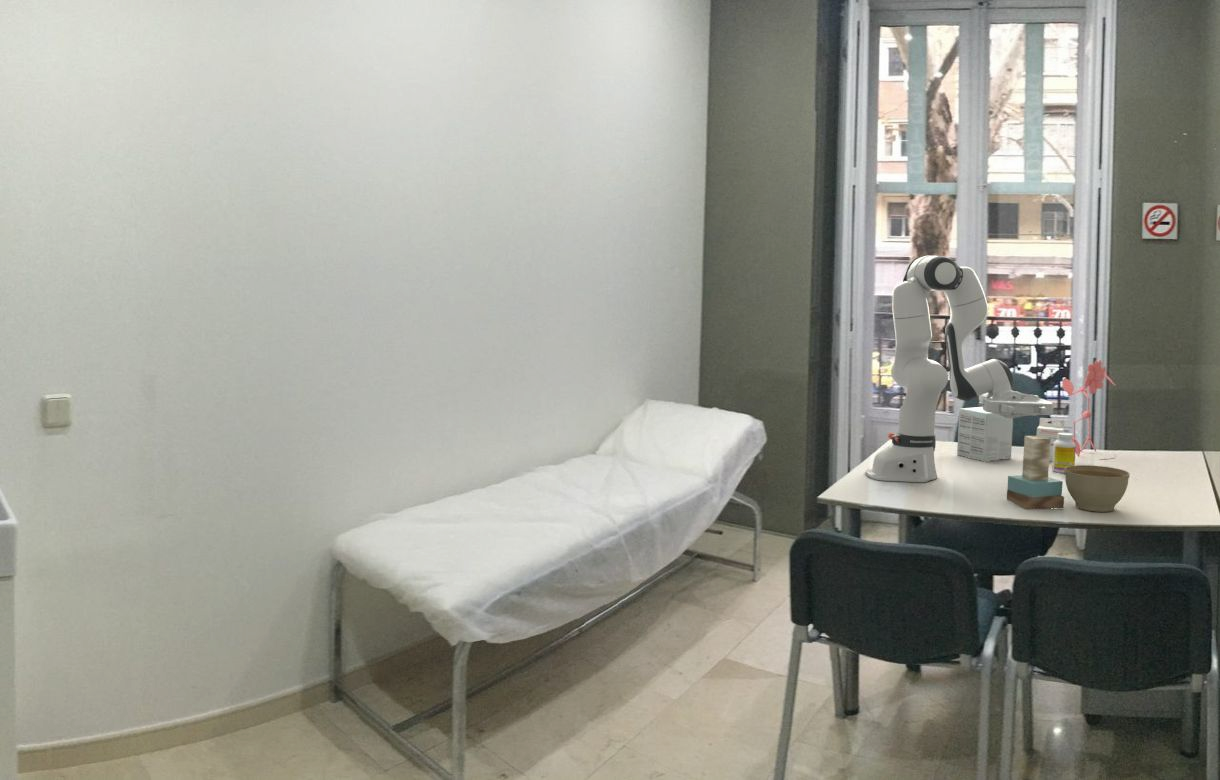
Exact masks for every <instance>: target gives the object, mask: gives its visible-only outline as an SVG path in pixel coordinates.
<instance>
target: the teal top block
mask: <svg viewBox="0 0 1220 780" xmlns="http://www.w3.org/2000/svg"><path fill="white" fill-rule="evenodd" d="M1063 483H1064V482H1063V481H1062V480H1059V479H1056V478H1053V477H1049V476H1048V481H1033V480H1028V479H1026V478H1024V477H1022V474H1020V475H1008V476H1007V487H1006V489H1007V490H1010V491H1013V492H1017V493H1020V494H1023V495H1026V496H1029V497H1032V498H1034V497H1046V496H1057V495H1061V496H1063ZM1007 490H1006V491H1007Z"/></svg>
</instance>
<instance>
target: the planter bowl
mask: <svg viewBox="0 0 1220 780" xmlns="http://www.w3.org/2000/svg"><path fill="white" fill-rule="evenodd" d="M1064 472H1065V473H1064V479H1065V485H1066V488H1067V491H1068V493H1069V495H1070V497H1071V498H1072V500H1073V501H1074V502H1075V507H1076V508H1078V509H1080V510H1084V511H1089V512H1097V513H1099V512H1101V513H1102V512H1103V513H1104V512H1105V513H1107V512H1108V513H1109V512H1113V511H1115V508H1116V505H1117V504H1118V503H1119V502H1120V501H1121V500H1122V498H1123V497H1124V496H1125V493H1126V490H1127V488H1128V484H1129V479H1130V476H1131V475H1130V472H1129V471H1127V470H1125V469H1120V468H1116V467H1111V466H1103V465H1102V466H1101V465H1092V464H1091V465H1089V464H1088V465H1087V464H1081V465H1080V464H1076V465H1074V466H1068V467H1066V468H1065V469H1064Z"/></svg>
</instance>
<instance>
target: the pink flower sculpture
mask: <svg viewBox="0 0 1220 780" xmlns="http://www.w3.org/2000/svg"><path fill="white" fill-rule="evenodd" d="M1102 364H1103V363H1102V360H1101V359H1100V360H1099V359H1098V360H1095V361H1094V363H1090V364H1088V366H1087V371H1088V373H1087V374H1086V379H1085V381H1084V384H1083V387H1082V388H1081V389H1079V390H1077V391H1075V392H1074V385H1073V382H1072V381H1071V380H1069V379H1068V378H1066V377H1064V378H1063V380H1062V381H1061V382H1062V383H1061V386H1062V387H1061V388H1062V389H1063V390H1064V391H1065V392H1066V393H1067V394H1068V395H1069V396H1073V395H1074V394H1078V393H1080V392H1082V393H1083V394H1084V395H1085V397H1086V398H1087V410H1085V411H1083V413H1082V416H1083V417H1081V418H1079V419H1077V420H1075V421H1074V422H1073V439H1072V441H1073V442H1074V443H1075V444H1076V448H1075V456H1077V457H1080V455H1081V452H1082V451H1083V450H1084V449H1085V447H1086V445H1087V444H1088V442H1089V444H1090V445H1091V447H1092V449H1093V451H1094V452H1095V453H1098V451H1097V450H1096V447H1095V446H1094V444H1093V442H1092V440H1091V417H1092V413H1091V411H1090V397H1089V396H1088V394H1090V395H1091V394H1094V395H1095V394H1097V392H1098V389H1099V390H1101V389H1103V388H1104V383H1103V381H1104V379H1105V378H1106V379H1107V381H1108V382H1110V383H1111V384H1112V385H1113V386H1114V387H1117V385H1116V384H1115V383H1114V382H1113V380H1112V378H1110V377H1109V376H1108V375H1107V374H1106V370H1107V369H1106V366H1103V365H1102ZM1086 388H1088V389H1086ZM1086 392H1089V393H1088V394H1087V393H1086ZM1083 419H1088V436H1086V441H1085V443H1084V444H1083V446H1082V447H1081V445H1080V443H1079V442H1078V440H1077V439H1076V423H1077V422H1079V421H1081V420H1083ZM1096 451H1097V452H1096ZM1113 455H1115V456H1116V454H1115V453H1113ZM1113 459H1114V457H1113V458H1110V460H1113ZM1101 460H1102V461H1103V460H1107V458H1104V459H1101V458H1099V461H1101Z"/></svg>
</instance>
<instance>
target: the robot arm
mask: <svg viewBox="0 0 1220 780" xmlns="http://www.w3.org/2000/svg"><path fill="white" fill-rule="evenodd" d="M932 291H938V292H939V291H940V292H941V291H942V292H943V293H944V294H945V297H946V299H947V302H948V307H949V309H950V311H949V312H950V314H949V315H950V317H949V321H948V323H947V324H946V325H945V330H944V331H945V332H944V334H945V344H946V345H945V346H946V352H947V353H946V355H947V360H948V369H949V375H948V371H947V369H946V368H945V366H943V364H940V363H939V362H937V361H935V360H934V359H929V358H928V357H929V355H928V354H929V347H930V342H931V340H932V338H933V332H932V324H931V315H930V309H929V308H930V307H929V297H930V294H931V292H932ZM891 306H892V317H893V325H894V326H893V327H894V332H895V333H894V335H895V351H894V353H895V354H894V362H893V364H892V366H891V369H890V373H891V374H890V375H891V377H892V380H893V381H894V382H895V383H896V384H897V385H898V386H900V387H901V388H903V389H906V394H905V398H904V400H903V403H902V405H901V406H900V407H899V410H898V432H896V433H895V434H894V433H893V432H889V433H888V434H887V437H888V439H889V440H891V444H890V445H888V446H887V447H885V448H884V449H883V450H882V451H880V452H878V453H876V455H875V456H874V459H873V462H872V467H871V468H866V469H865V475H866V476H867V477H868V478H870V479H873V480H875V481H886V482H888V481H889V482H910V483H911V482H912V483H927V482H929V481H932V480H936V479H938V478H939V477H938V473H937V470H936V469H937V468H936V460H935V451H936V441H937V440H936V434H935V425H936V424H935V423H936V410H937V407H938V402H939V398H940V396H941V393H942V391H943V390H944V389H945V388H946V386H947V384H948V382H949V385H950V386H949V387H950V391H951V393H952V395H953V396H954V397H955V398H956V399H959V400H960V401H965V402H969V401H971V400H974V399H975V398H978V403H977V405H978V406H980V407H983V410H984V411H986V412H991V413H994V414H997V415H1000V416H1002V417H1005V418H1009V419H1012V418H1013V419H1017V418H1021V417H1035V416H1038V415H1039V416H1041V415H1042V416H1043V415H1044V416H1051V415H1053V413H1054V403H1053V402H1051V401H1049V400H1047V399H1044V398H1040V397H1039V395H1034V394H1028V393H1022V392H1021V391H1020V392H1019V391H1015V390H1013V388H1014V377H1013V374H1012V371H1011V369H1010V367H1009V366H1008V365H1007V364H1006V363H1005V362H1003V361H1002V360H1000V359H997V358H992V359H989V360H987V361H984V362H981V363H979V364H975V365H973V366H971V367H968V368H965V361H964V353H963V343H964V341H965V340H966V338H968V337H969V335H971V334H972V333H973V332H974V331H975V330H976V329H977V328H979V327H980V326H981V325H982V324H983V322H984V321H985V320H986V318H987V316H988V313H989V307H988V306H989V305H988V302H987V298H986V294H985V291H984V288H983V286H982V284H981V282H980V279H979V277H978V276H977V274H976V272H975V271H974V269H972V268H971V267H969V266H960V265H958V264H957V263H956V262H955V261H954V259H952V258H950V257H948V256H944V255H934V254H933V255H932V254H930V255H925V256H924V255H923V256H921V255H920V256H918V257H916V258H913V259H912V260H911V261H910V262H909V263H908V265H907V267H906V269H905V273H904V277H903V280H902V282H900V283H898V284H897V285H896V286H895V287H893V290H892V305H891Z"/></svg>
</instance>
